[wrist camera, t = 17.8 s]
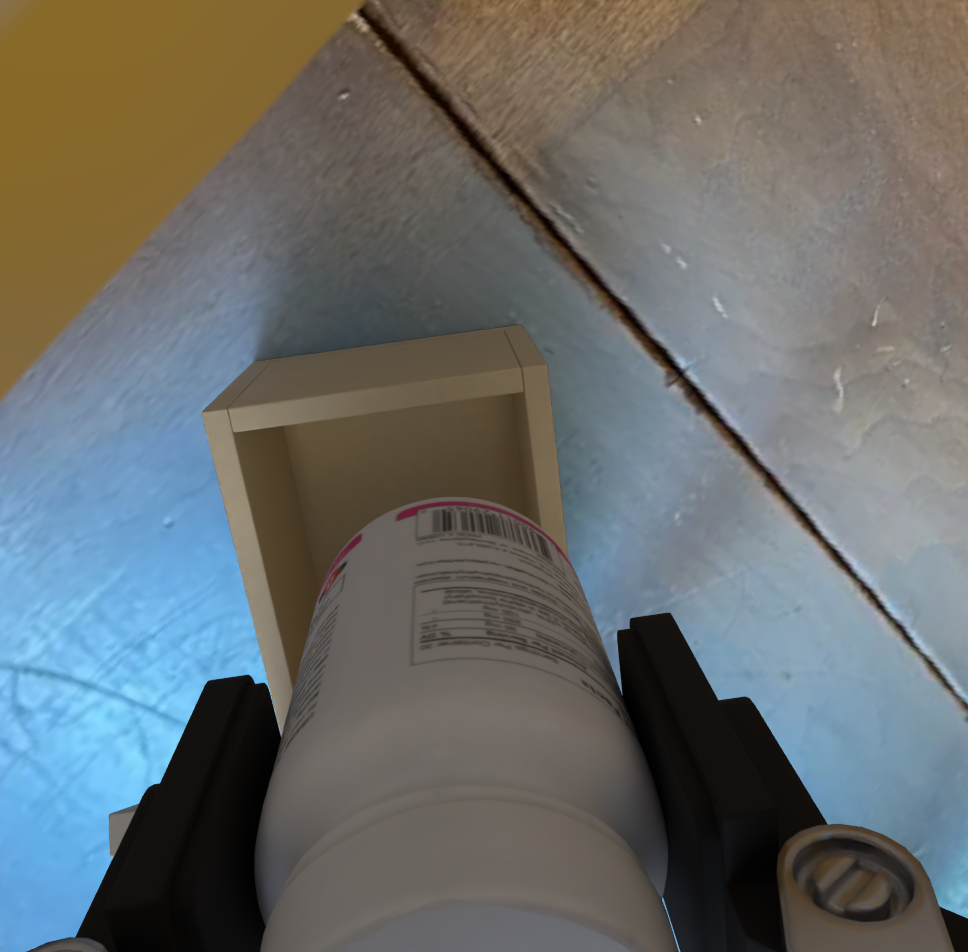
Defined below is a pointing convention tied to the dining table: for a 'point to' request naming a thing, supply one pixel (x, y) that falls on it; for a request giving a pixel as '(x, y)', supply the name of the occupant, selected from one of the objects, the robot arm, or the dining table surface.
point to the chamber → (371, 459)
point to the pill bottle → (459, 756)
